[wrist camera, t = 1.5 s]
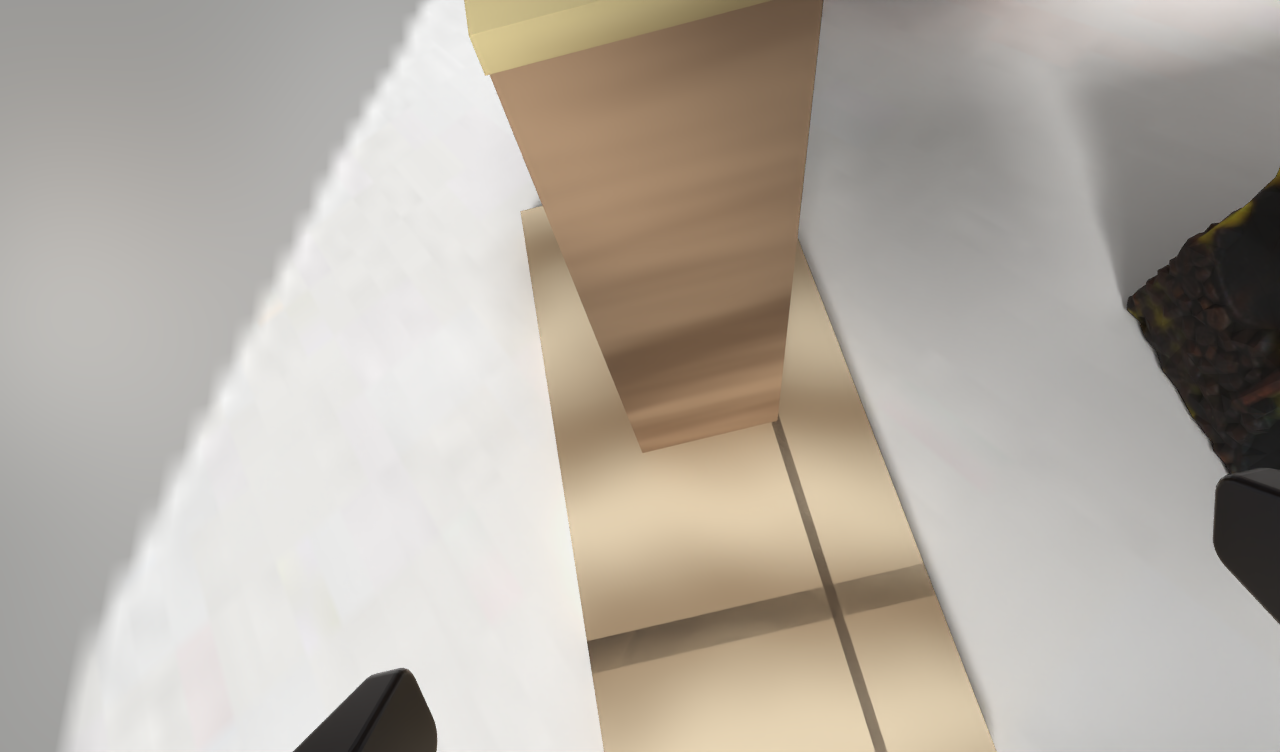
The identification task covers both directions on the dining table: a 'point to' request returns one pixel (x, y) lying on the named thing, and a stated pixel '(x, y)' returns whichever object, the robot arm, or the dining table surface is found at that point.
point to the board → (747, 560)
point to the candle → (1224, 330)
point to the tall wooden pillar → (668, 186)
